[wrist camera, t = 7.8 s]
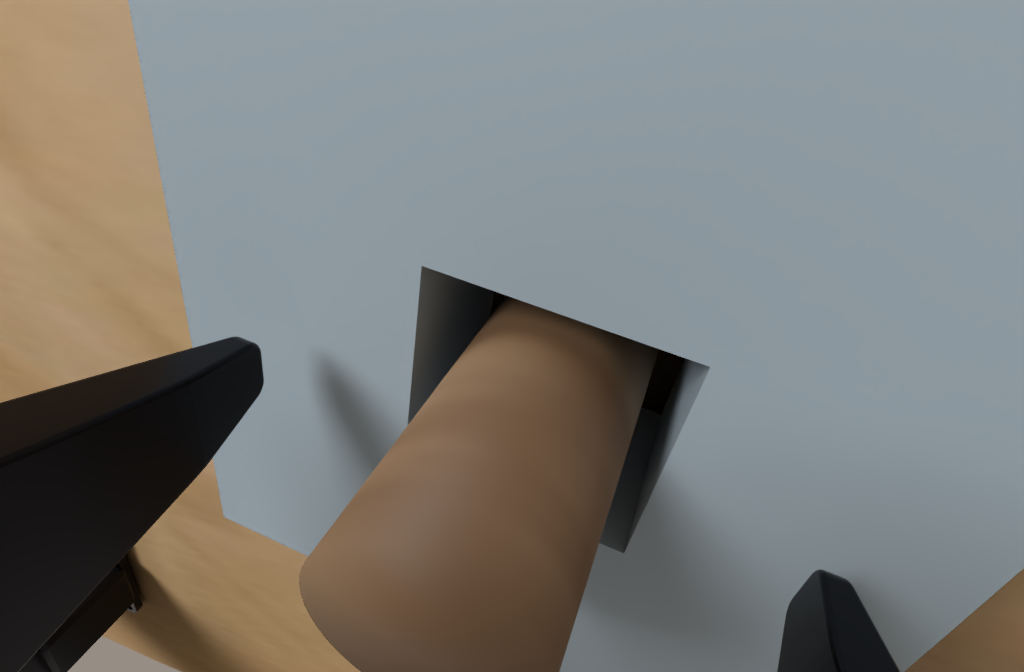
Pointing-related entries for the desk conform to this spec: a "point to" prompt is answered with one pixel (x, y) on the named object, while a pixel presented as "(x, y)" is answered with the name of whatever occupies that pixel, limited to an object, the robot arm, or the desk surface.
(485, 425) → the peg
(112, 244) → the desk surface
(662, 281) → the socket block
